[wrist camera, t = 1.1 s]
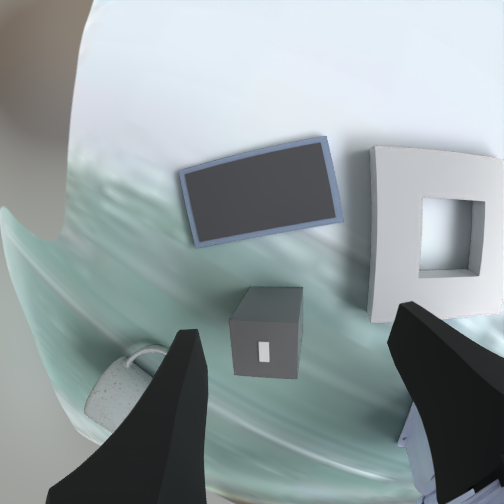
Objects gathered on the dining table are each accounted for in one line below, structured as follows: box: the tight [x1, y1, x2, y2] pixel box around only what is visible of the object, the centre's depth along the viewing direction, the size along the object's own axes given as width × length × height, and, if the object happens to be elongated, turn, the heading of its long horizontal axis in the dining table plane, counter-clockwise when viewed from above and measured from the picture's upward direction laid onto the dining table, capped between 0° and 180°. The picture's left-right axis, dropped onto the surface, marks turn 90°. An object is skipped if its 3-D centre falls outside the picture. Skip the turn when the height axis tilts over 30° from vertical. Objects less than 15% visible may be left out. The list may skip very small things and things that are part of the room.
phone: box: [179, 136, 344, 248], centre depth 21 cm, size 6×11×1 cm, turn 103°
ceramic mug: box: [84, 345, 169, 433], centre depth 23 cm, size 11×8×8 cm
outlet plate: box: [367, 146, 504, 323], centre depth 17 cm, size 12×12×2 cm
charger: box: [229, 287, 303, 379], centre depth 19 cm, size 4×4×6 cm
